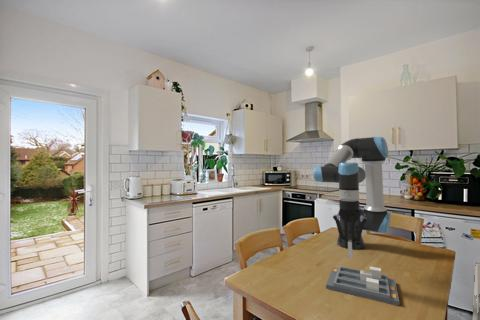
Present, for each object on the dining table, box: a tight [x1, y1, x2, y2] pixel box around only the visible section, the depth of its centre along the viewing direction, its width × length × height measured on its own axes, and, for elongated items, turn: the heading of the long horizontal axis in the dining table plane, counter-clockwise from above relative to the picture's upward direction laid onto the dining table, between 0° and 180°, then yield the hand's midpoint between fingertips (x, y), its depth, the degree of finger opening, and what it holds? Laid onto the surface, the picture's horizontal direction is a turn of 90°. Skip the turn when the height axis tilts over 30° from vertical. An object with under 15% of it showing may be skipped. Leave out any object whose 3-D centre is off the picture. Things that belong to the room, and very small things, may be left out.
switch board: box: [325, 265, 400, 306], centre depth 95 cm, size 18×24×3 cm
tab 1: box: [359, 269, 372, 282], centre depth 94 cm, size 3×4×4 cm
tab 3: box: [366, 278, 379, 292], centre depth 88 cm, size 3×4×4 cm
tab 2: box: [369, 265, 382, 279], centre depth 98 cm, size 3×4×4 cm
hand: (350, 256), depth 98 cm, fingers closed
